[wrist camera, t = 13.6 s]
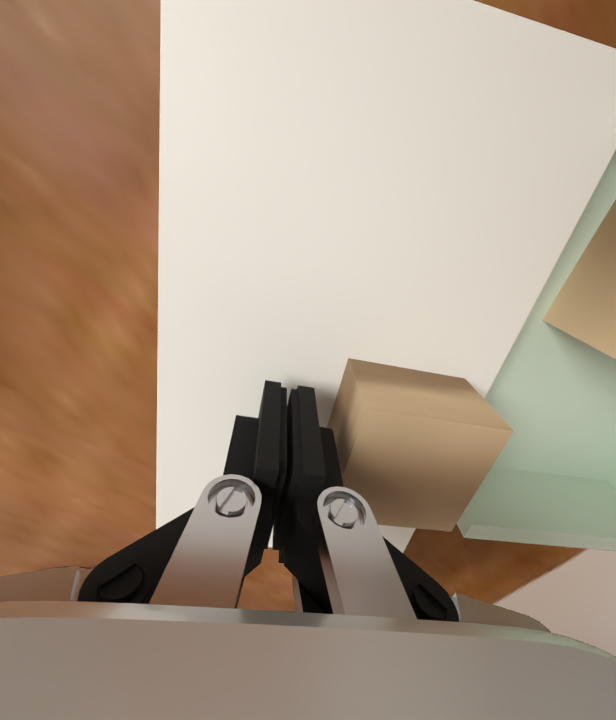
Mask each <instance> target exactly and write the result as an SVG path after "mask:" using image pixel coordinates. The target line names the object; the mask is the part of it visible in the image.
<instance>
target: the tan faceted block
mask: <svg viewBox="0 0 616 720" xmlns="http://www.w3.org/2000/svg"><path fill="white" fill-rule="evenodd" d="M542 320H543V321H545V322H547V323H549V324H551V325H552V326H554V327H556V328H558V329H560V330H562V331H564V332H566V333H567V334H569V335H571V336H573V337H575V338H577V339H579V340H581V341H582V342H584V343H586V344H588V345H590V346H592V347H594V348H596V349H597V350H599V351H601V352H603V353H605V354H607V355H609V356H611V357H612V358H614V359H616V200H615V201H614V203H613V204H612V206H611V208H610V209H609V211H608V213H607V214H606V216H605V218H604V219H603V221H602V222H601V224H600V226H599V227H598V229H597V231H596V232H595V234H594V236H593V237H592V239H591V240H590V242H589V244H588V245H587V247H586V249H585V250H584V252H583V254H582V255H581V257H580V259H579V260H578V262H577V263H576V265H575V267H574V268H573V270H572V272H571V273H570V275H569V277H568V278H567V280H566V281H565V283H564V285H563V286H562V288H561V290H560V291H559V293H558V295H557V296H556V298H555V300H554V301H553V303H552V304H551V306H550V308H549V309H548V311H547V313H546V314H545V316H544V318H543V319H542Z"/></svg>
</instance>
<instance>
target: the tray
mask: <svg viewBox="0 0 616 720" xmlns="http://www.w3.org/2000/svg"><path fill="white" fill-rule="evenodd" d="M615 200H616V150H615V152H614V154H613V156H612V158H611V160H610V161H609V163H608V165H607V167H606V169H605V171H604V173H603V175H602V177H601V179H600V180H599V182H598V184H597V186H596V188H595V190H594V192H593V194H592V196H591V197H590V199H589V201H588V203H587V205H586V207H585V209H584V211H583V213H582V215H581V216H580V218H579V220H578V222H577V224H576V226H575V228H574V230H573V232H572V233H571V235H570V237H569V239H568V241H567V243H566V245H565V247H564V249H563V251H562V252H561V254H560V256H559V258H558V260H557V262H556V264H555V266H554V268H553V269H552V271H551V273H550V275H549V277H548V279H547V281H546V283H545V285H544V287H543V288H542V290H541V292H540V294H539V296H538V298H537V300H536V302H535V304H534V305H533V307H532V309H531V311H530V313H529V315H528V317H527V319H526V321H525V323H524V324H523V326H522V328H521V330H520V332H519V334H518V336H517V338H516V340H515V341H514V343H513V345H512V347H511V349H510V351H509V353H508V355H507V357H506V359H505V360H504V362H503V364H502V366H501V368H500V370H499V372H498V374H497V376H496V377H495V379H494V381H493V383H492V385H491V387H490V389H489V391H488V393H487V395H486V396H485V398H484V399H485V401H486V402H487V403H488V404H489V405H490V406H491V407H492V408H493V409H494V410H495V411H496V412H497V413H498V415H499V416H500V417H501V418H502V419H503V420H504V421H505V422H506V423H507V424H508V425H509V426H510V427H511V429H512V430H513V431H514V432H513V433H512V435H511V437H510V438H509V440H508V441H507V443H506V445H505V446H504V448H503V449H502V451H501V453H500V454H499V456H498V457H497V459H496V461H495V462H494V464H493V466H492V467H491V469H490V470H489V472H488V474H487V475H486V477H485V478H484V480H483V482H482V483H481V485H480V486H479V488H478V490H477V491H476V493H475V494H474V496H473V498H472V499H471V501H470V502H469V504H468V506H467V507H466V509H465V511H464V512H463V514H462V515H461V517H460V519H459V520H458V522H457V523H456V524H457V526H458V528H459V530H460V532H461V534H462V536H463V538H472V539H483V540H495V541H506V542H517V543H529V544H540V545H551V546H562V547H574V548H585V549H596V550H608V551H616V359H614V358H612V357H611V356H609V355H607V354H605V353H603V352H601V351H599V350H597V349H596V348H594V347H592V346H590V345H588V344H586V343H584V342H582V341H581V340H579V339H577V338H575V337H573V336H571V335H569V334H567V333H566V332H564V331H562V330H560V329H558V328H556V327H554V326H552V325H551V324H549V323H547V322H545V321H543V320H542V319H543V318H544V316H545V314H546V313H547V311H548V309H549V308H550V306H551V304H552V303H553V301H554V300H555V298H556V296H557V295H558V293H559V291H560V290H561V288H562V286H563V285H564V283H565V281H566V280H567V278H568V277H569V275H570V273H571V272H572V270H573V268H574V267H575V265H576V263H577V262H578V260H579V259H580V257H581V255H582V254H583V252H584V250H585V249H586V247H587V245H588V244H589V242H590V240H591V239H592V237H593V236H594V234H595V232H596V231H597V229H598V227H599V226H600V224H601V222H602V221H603V219H604V218H605V216H606V214H607V213H608V211H609V209H610V208H611V206H612V204H613V203H614V201H615Z"/></svg>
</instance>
